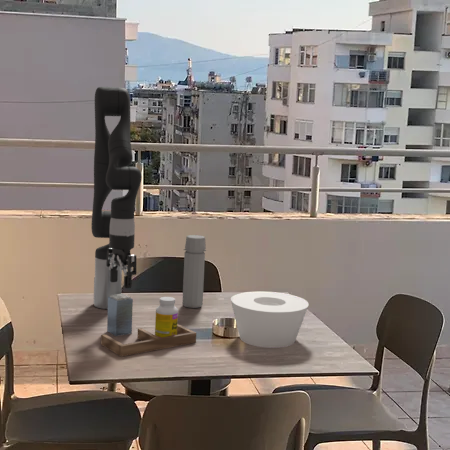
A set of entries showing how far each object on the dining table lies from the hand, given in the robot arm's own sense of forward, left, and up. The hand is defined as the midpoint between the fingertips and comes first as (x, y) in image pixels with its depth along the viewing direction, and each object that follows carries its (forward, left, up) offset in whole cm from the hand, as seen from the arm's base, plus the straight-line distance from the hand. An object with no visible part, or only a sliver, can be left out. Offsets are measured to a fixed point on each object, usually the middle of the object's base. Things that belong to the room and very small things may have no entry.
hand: (120, 284), depth 221 cm
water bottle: (-15, +38, -15) cm, 44 cm away
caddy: (+13, +3, -15) cm, 20 cm away
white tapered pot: (+27, +37, -15) cm, 48 cm away
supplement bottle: (+13, +9, -15) cm, 22 cm away
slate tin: (0, 0, -15) cm, 15 cm away
